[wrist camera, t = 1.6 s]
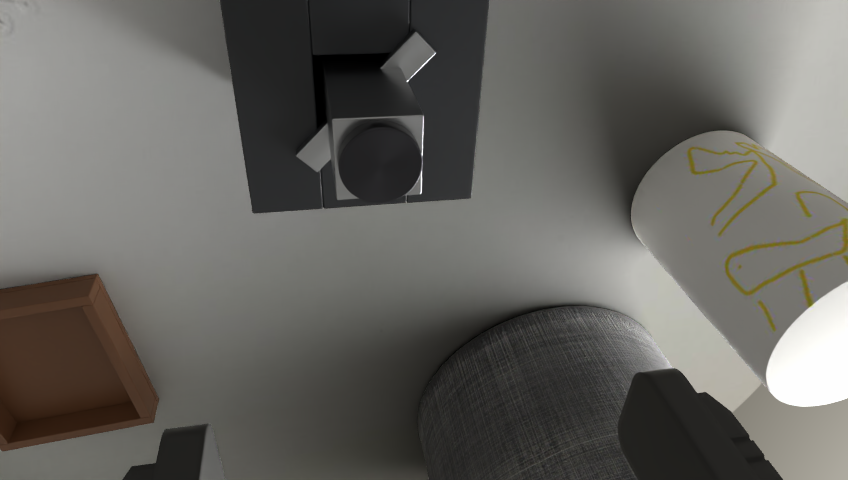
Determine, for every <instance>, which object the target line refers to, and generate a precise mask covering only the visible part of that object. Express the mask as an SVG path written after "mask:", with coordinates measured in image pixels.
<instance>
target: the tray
mask: <svg viewBox="0 0 848 480" xmlns="http://www.w3.org/2000/svg"><path fill="white" fill-rule="evenodd" d="M158 402H159V398H158V396H157V394H156V392H155V390H154V388H153V386H152V384H151V382H150V380H149V378H148V375H147V373H146V371H145V369H144V367H143V365H142V363H141V361H140V359H139V357H138V355H137V353H136V351H135V349H134V347H133V345H132V343H131V341H130V339H129V337H128V335H127V333H126V331H125V329H124V326H123V324H122V322H121V320H120V318H119V316H118V314H117V312H116V310H115V308H114V306H113V304H112V302H111V300H110V298H109V296H108V294H107V292H106V290H105V288H104V286H103V284H102V282H101V279H100V277H99V275H98V274H94V275H87V276H81V277H75V278H69V279H62V280H56V281H50V282H44V283H37V284H31V285H25V286H19V287H12V288H6V289H0V449H1V451H8V450H13V449H18V448H24V447H29V446H34V445H39V444H45V443H50V442H55V441H60V440H66V439H71V438H76V437H81V436H87V435H92V434H97V433H102V432H108V431H113V430H118V429H123V428H129V427H134V426H139V425H144V424H150V423H154V419H155V415H156V410H157V406H158Z"/></svg>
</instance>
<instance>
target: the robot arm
mask: <svg viewBox="0 0 848 480" xmlns="http://www.w3.org/2000/svg"><path fill="white" fill-rule="evenodd" d="M618 437H619V442H620V446H621V449H622V451H623V453H624V455H625V457H626V459H627V461H628V463H629V465H630V466H631V468H632V470H633V472H634V474H635V476H636V478H637V479H638V480H783V479H782V478H781V476H780V475H779V474H778V472H777V471H776V470H775V468H774V467H773V466H772V465H771V463H770V462H769V461H768V460H767V461H766V460H765V459H764V454H763V453H762V451H761V450H760V449H759V448H758V446H757V445H756V444H755V442H754V441H753V440H752V441H751V440H750V439H749V435H748V433H747V432H746V431H745V429H744V428H743V427H742V425H741V424H740V423H739V421H738V420H737V419H736V417H735V416H734V415H733V414H732V412H731V411H730V410H728V409H727V408H726V407H724V406H723V405H722V404H721V403H719V402H718V401H717V400H715V399H714V398H713V397H711V396H710V395H709V394H708V393H706V392H703V393H697V392H696V391H695V390H694V388H693V387H692V385H691V384H690V383H689V381H688V380H687V379H686V377H685V376H684V375H683V374H682V373H681V372H680V371H679V370H677V369H675V368H670V369H661V370H653V371H645V372H638V373H636V374H635V375H634V377H633V379H632V382H631V385H630V388H629V391H628V394H627V397H626V400H625V403H624V406H623V409H622V412H621V415H620V418H619V421H618ZM123 480H225V475H224V471H223V467H222V463H221V459H220V455H219V451H218V447H217V443H216V439H215V435H214V431H213V428H212V425H211V424H202V425H194V426H186V427H178V428H170V429H165V430H164V432H163V434H162V437H161V441H160V446H159V451H158V455H157V460H156V463H154V464H146V465H138V466H132V467H131V468H130V470H129V471H128V472H127V474H126V475H125V477H124V478H123Z"/></svg>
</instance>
